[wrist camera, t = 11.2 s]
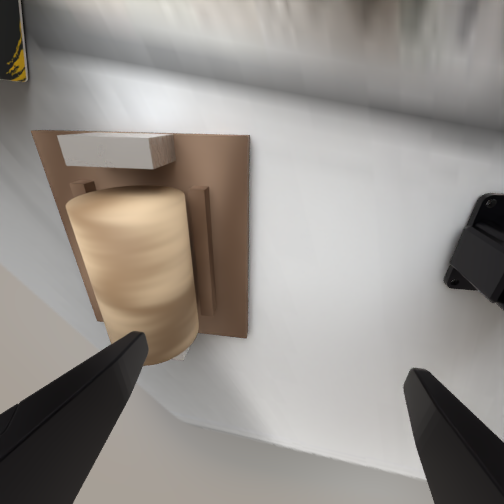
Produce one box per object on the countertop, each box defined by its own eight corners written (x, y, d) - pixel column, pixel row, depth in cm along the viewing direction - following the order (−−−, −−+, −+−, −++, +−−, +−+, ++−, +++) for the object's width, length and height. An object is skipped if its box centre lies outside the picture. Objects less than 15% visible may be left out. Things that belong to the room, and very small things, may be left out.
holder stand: (249, 135, 16) (237, 140, 12) (247, 331, 23) (240, 368, 20) (41, 130, 17) (-19, 133, 14) (102, 315, 25) (73, 346, 21)
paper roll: (188, 184, 17) (178, 214, 12) (200, 302, 22) (196, 360, 17) (93, 186, 17) (39, 218, 11) (126, 307, 21) (98, 370, 16)
